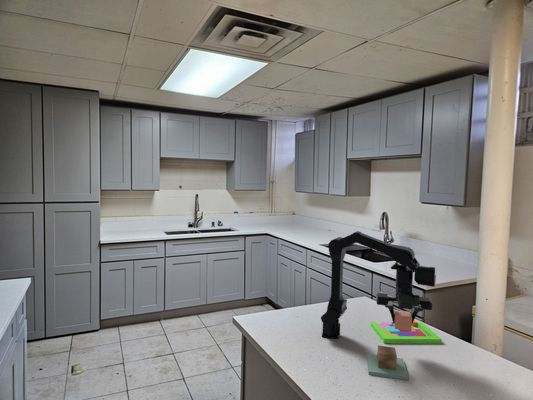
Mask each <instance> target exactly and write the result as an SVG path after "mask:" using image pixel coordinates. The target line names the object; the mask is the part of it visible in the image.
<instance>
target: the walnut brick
mask: <svg viewBox="0 0 533 400" xmlns="http://www.w3.org/2000/svg"><path fill="white" fill-rule="evenodd" d="M376 355H377V361H378V368H384V369H391V370H396V362H397V358H398V355H397V351H396V347H394V346H385V345H377V354H376Z"/></svg>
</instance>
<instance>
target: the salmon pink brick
mask: <svg viewBox="0 0 533 400" xmlns="http://www.w3.org/2000/svg"><path fill="white" fill-rule="evenodd" d="M394 319H395V321H394V323H393V324H394V328H395V329H398V330H407V331H411V328H413V326H412V316H411V311H406V310H397V309H394Z"/></svg>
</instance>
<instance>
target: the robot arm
mask: <svg viewBox="0 0 533 400" xmlns="http://www.w3.org/2000/svg"><path fill="white" fill-rule="evenodd" d="M354 244H359V245H361V246H363V247H366V248H369V249H371V250H374V251H376V252H379V253H382V254H383V255H386V256H387V257H389V258H390V259H391V260H393V261H394V264H392V265H391V266H390V270H395V288H394V289H395V292H394V296H388V293H384V292H383V293H382V292H377V293H376V295H375V297H376V298H375V303H376V305H379V306H384V307H385V308H387V309H388V310H389V313H390V316H391V320H392V322H393V323H394V321H395V319H394V310H395V309H394V303H395V304H397V307H398V308H399V309H401V310H402V309H403V310H404V309H405V310H409V311H410V314H411V316H412V323H413V321H414V320H415V319H416V316H417V315H418V313H420V312H423V311H424V310H425V311H426V310H427V311H432V310H433V302H432V301H431V299H430V298H429V297H426V296H424V297H423V296H420V295H419V294H414V293H413V281H414V282H415V283H416V284H417V285H418V286H419V285H420V286H425V287H433V288H436V279H437V275H436V267H435V266H424V265H421V264H420V263H419V261H418V260H417V258H416V257H415V256H416V254H415V251H414V250H413V249H412V248H411V247H409V246H406V245H405V246H404V245H398V244H392V243H389V242H386V241H384V240H381V239H379V238H376V237H373V236H370V235H368V234H366V233H364V232H361V231H358V230H356V231H354V232H353V233H351V234H349V235H347V236H344V237H341V236H338V237H335V238H332V239H331V240H330V241H329V243H328V246H327V247H328V254H329V257H330V260H331V275H330V276H331V277H330V278H331V281H330V282H331V284H330V298H329V299H328V303H327V308H326V311H325V312H324V313H323V314H322V315H321V316H320V319H321V322H322V333H321V337H322V338H328V339H337V340H338V339H339V337H340V335H341V323H340V318H341V317H342V316H343V315H344V314H345V313H346V311H347V309H348V307H347V303H348V299H345V298H344V297H343V281H344V280H343V276H344V275H343V274H344V259H345V256H346V253H347V250H348V249H347V248H348V247H350V246H351V245H354ZM413 278H414V279H413Z"/></svg>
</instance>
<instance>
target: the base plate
mask: <svg viewBox="0 0 533 400" xmlns="http://www.w3.org/2000/svg"><path fill="white" fill-rule="evenodd" d="M366 355H367V370H368V371H367V372H368V375H371V376H379V377H383V378H391V379H398V380H399V379H400V380H405V381H408V380H409V377H408V376H409V375H408V373H407V368H406V365H405V361H404V358H401V357H397V362H396V370H391V369H384V368H378V361H377V354H371V353H367V354H366Z"/></svg>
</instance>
